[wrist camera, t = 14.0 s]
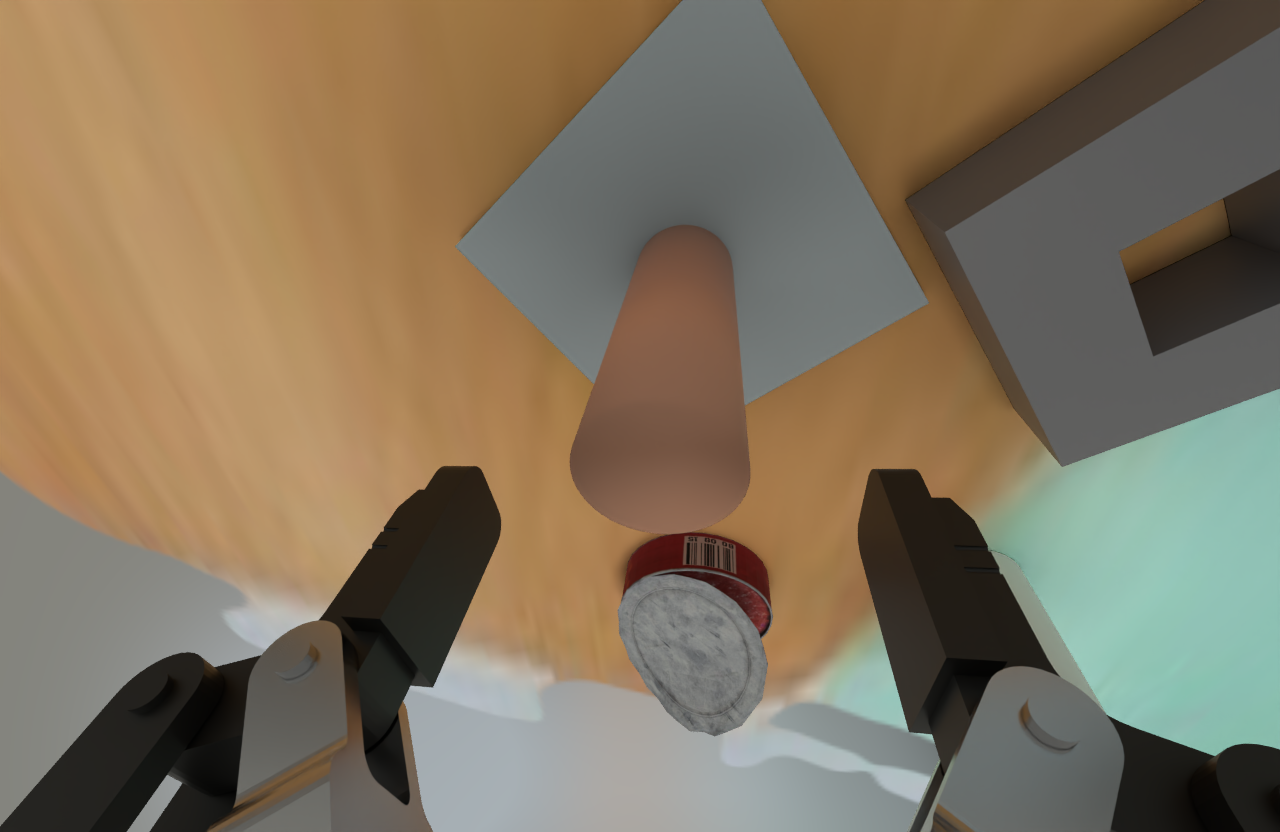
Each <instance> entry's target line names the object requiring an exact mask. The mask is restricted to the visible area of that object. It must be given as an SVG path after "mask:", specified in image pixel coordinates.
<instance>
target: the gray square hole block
mask: <svg viewBox="0 0 1280 832" xmlns="http://www.w3.org/2000/svg"><path fill="white" fill-rule="evenodd" d="M1222 198H1224V200H1225V205H1226V210H1227V215H1228V220H1229V224H1230V229H1231V234H1232V236H1230V237H1228V238H1226V239H1224V240H1222V241H1220V242H1218V243H1216V244H1214V245H1212V246H1210V247H1208V248H1206V249H1203V250H1201V251H1199V252H1197V253H1195V254H1193V255H1191V256H1189V257H1187V258H1185V259H1183V260H1181V261H1179V262H1177V263H1174V264H1172V265H1170V266H1168V267H1166V268H1164V269H1162V270H1160V271H1158V272H1156V273H1154V274H1152V275H1150V276H1148V277H1145V278H1143V279H1141V280H1139V281H1137V282H1135V283H1133V284H1131V285H1130V284H1129V281H1128V278H1127V275H1126V272H1125V269H1124V266H1123V263H1122V260H1121V257H1120V254H1119V251H1121V250H1123V249H1125V248H1127V247H1129V246H1131V245H1133V244H1135V243H1137V242H1139V241H1141V240H1143V239H1145V238H1146V237H1148V236H1150V235H1152V234H1154V233H1156V232H1158V231H1160V230H1162V229H1164V228H1166V227H1168V226H1170V225H1172V224H1174V223H1176V222H1178V221H1180V220H1182V219H1184V218H1185V217H1187V216H1189V215H1191V214H1193V213H1195V212H1197V211H1199V210H1201V209H1203V208H1205V207H1207V206H1209V205H1211V204H1213V203H1215V202H1217V201H1219V200H1221V199H1222ZM905 201H906V203H907V204H908V206H909V208H910V210H911V212H912V214H913V216H914V218H915V220H916V222H917V224H918V226H919V227H920V229H921V231H922V233H923V235H924V237H925V239H926V241H927V243H928V245H929V247H930V248H931V250H932V252H933V254H934V256H935V258H936V260H937V262H938V264H939V266H940V268H941V270H942V271H943V273H944V275H945V277H946V279H947V281H948V283H949V285H950V287H951V289H952V291H953V293H954V294H955V296H956V298H957V300H958V302H959V304H960V306H961V308H962V310H963V312H964V314H965V316H966V317H967V319H968V321H969V323H970V325H971V327H972V329H973V331H974V333H975V335H976V337H977V338H978V340H979V342H980V344H981V346H982V348H983V350H984V352H985V354H986V356H987V358H988V360H989V361H990V363H991V365H992V367H993V369H994V371H995V373H996V375H997V377H998V379H999V381H1000V383H1001V384H1002V386H1003V388H1004V390H1005V392H1006V394H1007V396H1008V398H1009V400H1010V402H1011V404H1012V405H1013V407H1014V409H1015V411H1016V412H1017V413H1018V414H1019V415H1020V417H1021V418H1022V419H1023V420H1024V421H1025V423H1026V424H1027V425H1028V426H1029V428H1030V429H1031V430H1032V431H1033V432H1034V434H1035V435H1036V436H1037V437H1038V438H1039V440H1040V441H1041V442H1042V443H1043V444H1044V446H1045V447H1046V448H1047V449H1048V451H1049V452H1050V453H1051V454H1052V455H1053V457H1054V458H1055V459H1056V460H1057V461H1058V463H1059V464H1060V465H1061V466H1062V467H1063V466H1066V465H1069V464H1071V463H1074V462H1077V461H1080V460H1082V459H1085V458H1088V457H1091V456H1094V455H1096V454H1099V453H1102V452H1105V451H1107V450H1110V449H1113V448H1116V447H1119V446H1121V445H1124V444H1127V443H1130V442H1132V441H1135V440H1138V439H1141V438H1144V437H1146V436H1149V435H1152V434H1155V433H1157V432H1160V431H1163V430H1166V429H1168V428H1171V427H1174V426H1177V425H1180V424H1182V423H1185V422H1188V421H1191V420H1193V419H1196V418H1199V417H1202V416H1205V415H1207V414H1210V413H1213V412H1216V411H1218V410H1221V409H1224V408H1227V407H1230V406H1232V405H1235V404H1238V403H1241V402H1243V401H1246V400H1249V399H1252V398H1255V397H1257V396H1260V395H1263V394H1266V393H1268V392H1271V391H1274V390H1277V389H1280V0H1205V1H1204V2H1202V3H1201V4H1199V5H1198V6H1196V7H1195V8H1193V9H1191V10H1190V11H1188V12H1187V13H1185V14H1184V15H1182V16H1181V17H1179V18H1178V19H1176V20H1175V21H1173V22H1172V23H1170V24H1169V25H1167V26H1166V27H1164V28H1163V29H1161V30H1160V31H1158V32H1157V33H1155V34H1154V35H1152V36H1151V37H1149V38H1148V39H1146V40H1145V41H1143V42H1142V43H1140V44H1139V45H1137V46H1136V47H1134V48H1133V49H1131V50H1130V51H1128V52H1127V53H1125V54H1124V55H1122V56H1121V57H1119V58H1118V59H1116V60H1115V61H1113V62H1112V63H1110V64H1109V65H1107V66H1106V67H1104V68H1103V69H1101V70H1100V71H1098V72H1097V73H1095V74H1094V75H1092V76H1091V77H1089V78H1088V79H1086V80H1085V81H1083V82H1082V83H1080V84H1079V85H1077V86H1076V87H1074V88H1073V89H1071V90H1070V91H1068V92H1067V93H1065V94H1064V95H1062V96H1061V97H1059V98H1058V99H1056V100H1055V101H1053V102H1052V103H1050V104H1049V105H1047V106H1046V107H1044V108H1043V109H1041V110H1040V111H1038V112H1037V113H1035V114H1034V115H1032V116H1031V117H1029V118H1028V119H1026V120H1025V121H1023V122H1022V123H1020V124H1019V125H1017V126H1016V127H1014V128H1013V129H1011V130H1010V131H1008V132H1007V133H1005V134H1004V135H1002V136H1001V137H999V138H998V139H996V140H995V141H993V142H992V143H990V144H989V145H987V146H986V147H984V148H983V149H981V150H980V151H978V152H977V153H975V154H974V155H972V156H971V157H969V158H968V159H966V160H965V161H963V162H962V163H960V164H959V165H957V166H956V167H954V168H953V169H951V170H950V171H948V172H947V173H945V174H944V175H942V176H941V177H939V178H938V179H936V180H935V181H933V182H932V183H930V184H929V185H927V186H926V187H924V188H923V189H921V190H920V191H918V192H917V193H915V194H914V195H912V196H911V197H909V198H908V199H906V200H905Z"/></svg>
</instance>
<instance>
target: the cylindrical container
mask: <svg viewBox="0 0 1280 832" xmlns="http://www.w3.org/2000/svg"><path fill="white" fill-rule="evenodd" d="M988 551H990V550H988ZM991 553H992V555H993V557H994V558H995V560H996V562H997V564H998V566H999V568H1000V569H999V571H1000V574H1003V575H1004V577H1005V579H1006V581H1007V583H1008V585H1009V587H1010V589H1011V590H1012V592H1013V594H1014V596H1015V598H1016V600H1017V602H1018V604H1019V605H1020V607H1021V609H1022V611H1023V613H1024V615H1025V617H1026V619H1027V620H1028V622H1029V624H1030V626H1031V628H1032V630H1033V632H1034V634H1035V635H1036V637H1037V639H1038V641H1039V643H1040V645H1041V647H1042V649H1043V650H1044V652H1045V654H1046V656H1047V658H1048V660H1049V661H1050V663H1051V665H1052V666H1053V668H1054V669H1055V671H1056V672H1057V673H1058V675H1059V676H1060V677H1061V678H1063V679H1065V680H1066V681H1068V682H1070V683H1071V684H1073V685H1075V686H1076V687H1077V688H1079V689H1080V690H1081V691H1083V692H1084V693H1085V694H1087V695H1088V696H1089V697H1090V698H1091V699H1092V700H1093V701H1094V702H1095V703H1097V705H1098V706H1099V707H1100V708H1101V709H1102V710H1103V708H1102V706H1101V704H1100V703H1099V701H1098V699H1097V698H1096V696H1095V694H1094V693H1093V691H1092V689H1091V687H1090V686H1089V684H1088V682H1087V681H1086V679H1085V677H1084V675H1083V674H1082V672H1081V670H1080V669H1079V667H1078V665H1077V664H1076V662H1075V660H1074V658H1073V657H1072V655H1071V653H1070V652H1069V650H1068V648H1067V646H1066V645H1065V643H1064V641H1063V640H1062V638H1061V636H1060V635H1059V633H1058V631H1057V629H1056V628H1055V626H1054V624H1053V623H1052V621H1051V619H1050V617H1049V616H1048V614H1047V612H1046V611H1045V609H1044V607H1043V606H1042V604H1041V602H1040V600H1039V599H1038V597H1037V595H1036V594H1035V592H1034V590H1033V588H1032V587H1031V585H1030V583H1029V582H1028V580H1027V578H1026V577H1025V575H1024V573H1023V571H1022V570H1021V568H1020V566H1019V565H1018V564H1017V563H1016V562H1015V561H1014V560H1013V559H1011V558H1009V557H1008V556H1006V555H1004V554H1001V553H998V552H995V551H991ZM1103 711H1104V710H1103ZM1104 712H1105V711H1104ZM1105 714H1106V713H1105Z"/></svg>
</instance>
